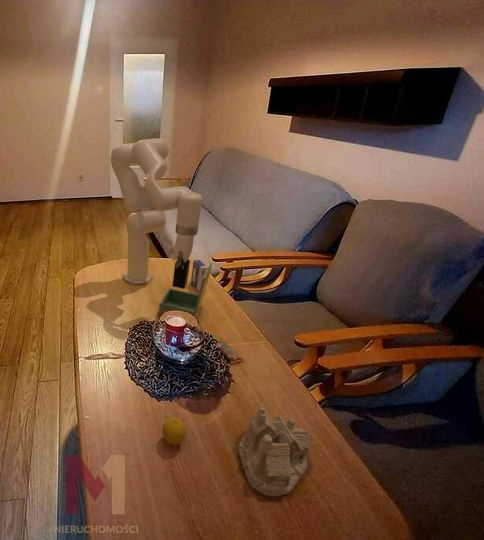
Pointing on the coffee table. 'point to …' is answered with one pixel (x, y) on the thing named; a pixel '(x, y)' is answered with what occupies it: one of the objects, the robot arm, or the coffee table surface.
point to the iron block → (181, 281)
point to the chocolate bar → (228, 353)
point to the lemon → (174, 431)
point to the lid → (203, 287)
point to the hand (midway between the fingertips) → (181, 273)
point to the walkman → (198, 273)
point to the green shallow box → (179, 302)
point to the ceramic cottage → (273, 454)
